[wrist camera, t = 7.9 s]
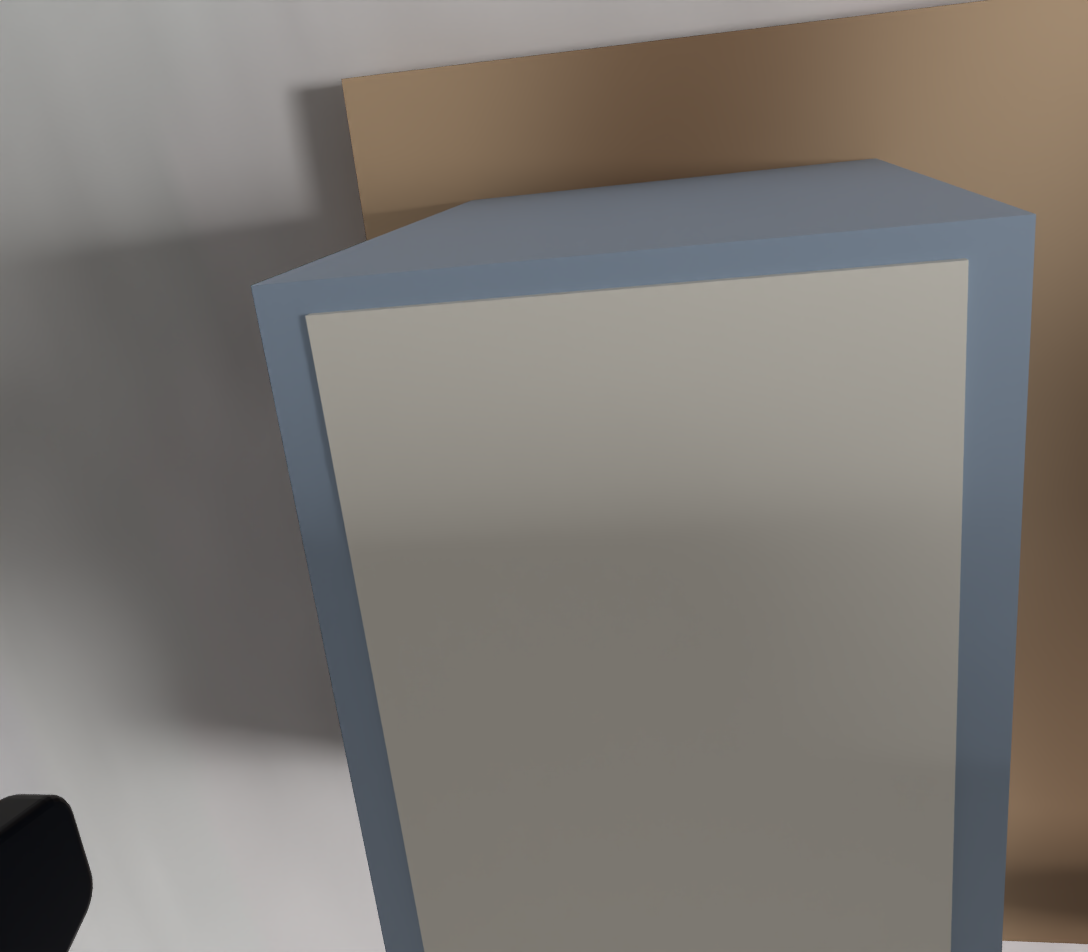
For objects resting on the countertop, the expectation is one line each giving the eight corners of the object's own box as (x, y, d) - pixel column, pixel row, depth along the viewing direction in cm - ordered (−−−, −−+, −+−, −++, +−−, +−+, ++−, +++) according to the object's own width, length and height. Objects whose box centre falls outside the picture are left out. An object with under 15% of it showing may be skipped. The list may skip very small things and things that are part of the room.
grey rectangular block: (876, 157, 11) (1040, 216, 5) (878, 819, 14) (987, 1317, 8) (472, 200, 12) (244, 288, 6) (550, 815, 15) (445, 1263, 9)
